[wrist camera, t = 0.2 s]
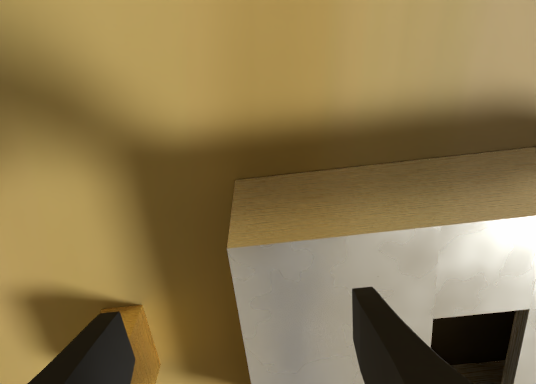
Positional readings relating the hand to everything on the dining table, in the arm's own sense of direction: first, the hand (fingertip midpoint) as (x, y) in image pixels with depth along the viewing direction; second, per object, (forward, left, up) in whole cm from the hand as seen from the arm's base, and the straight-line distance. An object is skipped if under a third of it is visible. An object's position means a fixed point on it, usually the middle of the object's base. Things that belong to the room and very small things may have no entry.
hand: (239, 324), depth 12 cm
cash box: (-7, -9, -10) cm, 15 cm away
